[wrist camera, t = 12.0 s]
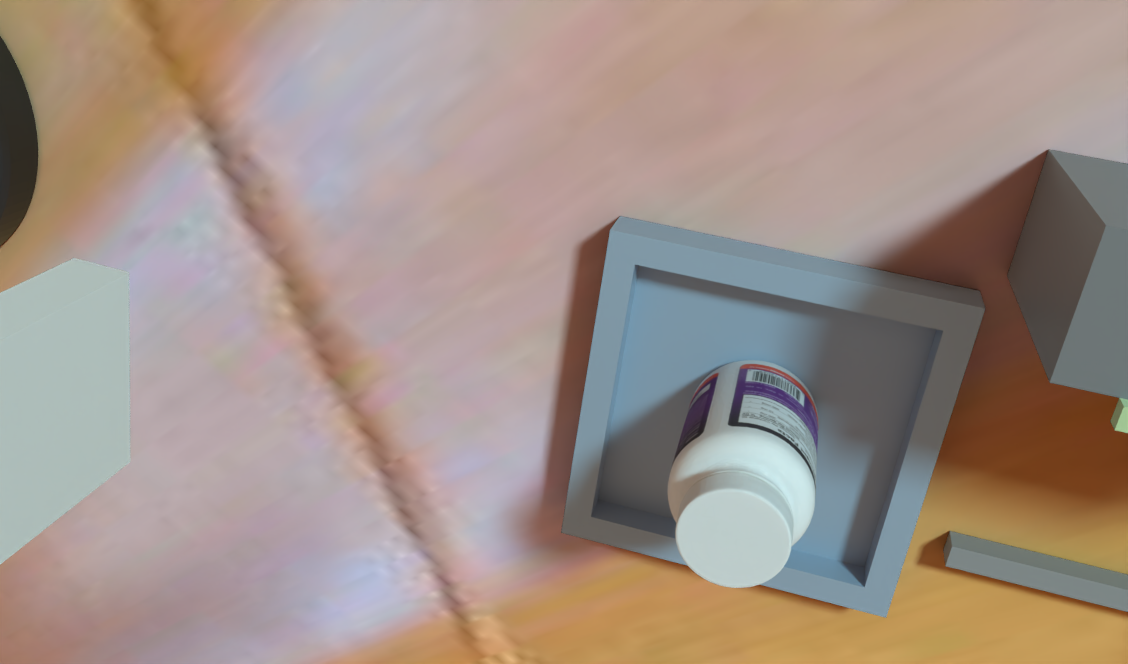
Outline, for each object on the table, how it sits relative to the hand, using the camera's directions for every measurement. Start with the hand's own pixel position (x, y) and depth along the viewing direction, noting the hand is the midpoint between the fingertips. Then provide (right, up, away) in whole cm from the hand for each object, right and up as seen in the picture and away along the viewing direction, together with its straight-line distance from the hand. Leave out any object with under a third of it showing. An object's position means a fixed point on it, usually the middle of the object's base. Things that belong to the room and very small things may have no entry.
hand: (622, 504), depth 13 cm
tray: (+8, -1, +33) cm, 34 cm away
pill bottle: (+7, -1, +33) cm, 34 cm away
